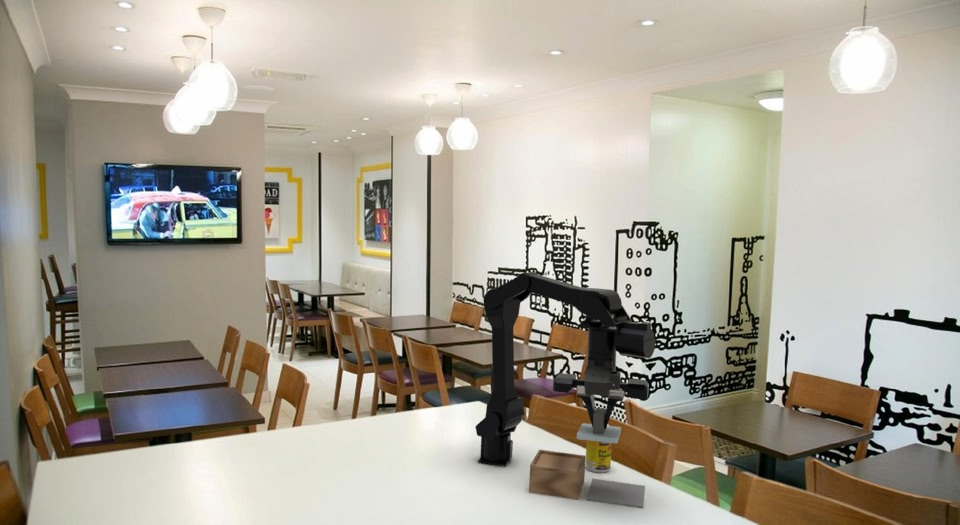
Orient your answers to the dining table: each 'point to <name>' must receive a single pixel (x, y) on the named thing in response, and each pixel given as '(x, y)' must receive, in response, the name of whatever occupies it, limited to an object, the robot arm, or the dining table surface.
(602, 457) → the supplement bottle
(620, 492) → the mat
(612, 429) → the lid
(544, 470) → the walnut box
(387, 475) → the dining table surface
